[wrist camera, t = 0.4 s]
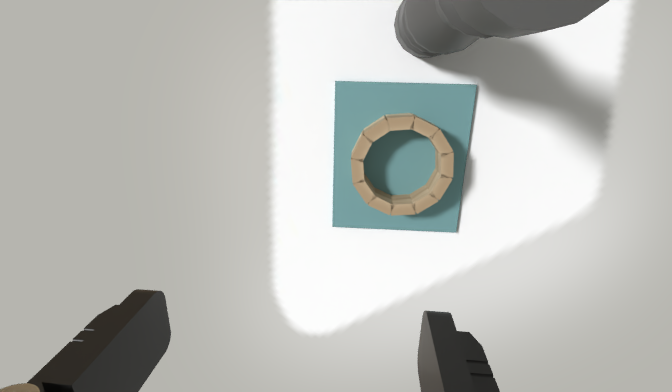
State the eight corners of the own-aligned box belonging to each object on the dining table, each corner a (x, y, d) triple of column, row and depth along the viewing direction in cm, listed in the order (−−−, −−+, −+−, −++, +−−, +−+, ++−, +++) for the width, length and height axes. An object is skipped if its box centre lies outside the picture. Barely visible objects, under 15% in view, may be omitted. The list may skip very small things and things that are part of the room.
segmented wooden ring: (379, 96, 38) (380, 99, 35) (465, 139, 38) (473, 145, 36) (337, 181, 41) (335, 189, 38) (417, 219, 42) (421, 230, 39)
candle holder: (425, 71, 37) (536, 78, 13) (380, 25, 36) (415, -55, 12) (473, 20, 35) (701, -76, 11) (428, -30, 34) (577, -249, 10)
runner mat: (335, 81, 38) (335, 81, 37) (475, 84, 37) (476, 84, 37) (332, 225, 43) (332, 226, 43) (455, 230, 42) (456, 232, 42)
